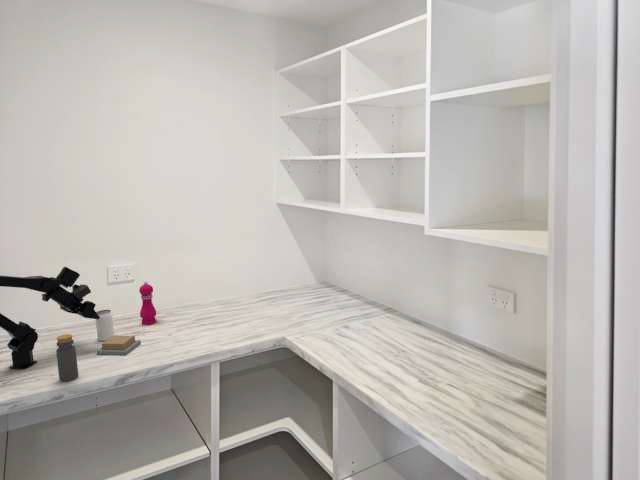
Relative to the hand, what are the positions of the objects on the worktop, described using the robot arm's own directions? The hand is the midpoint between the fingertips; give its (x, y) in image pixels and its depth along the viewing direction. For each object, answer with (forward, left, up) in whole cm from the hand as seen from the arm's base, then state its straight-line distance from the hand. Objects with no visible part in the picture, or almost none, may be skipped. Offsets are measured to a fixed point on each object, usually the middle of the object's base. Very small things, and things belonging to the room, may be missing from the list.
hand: (93, 316), depth 192 cm
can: (+4, -2, -11) cm, 12 cm away
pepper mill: (+25, -11, -11) cm, 30 cm away
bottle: (-33, -10, -11) cm, 36 cm away
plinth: (-7, -14, -11) cm, 19 cm away
